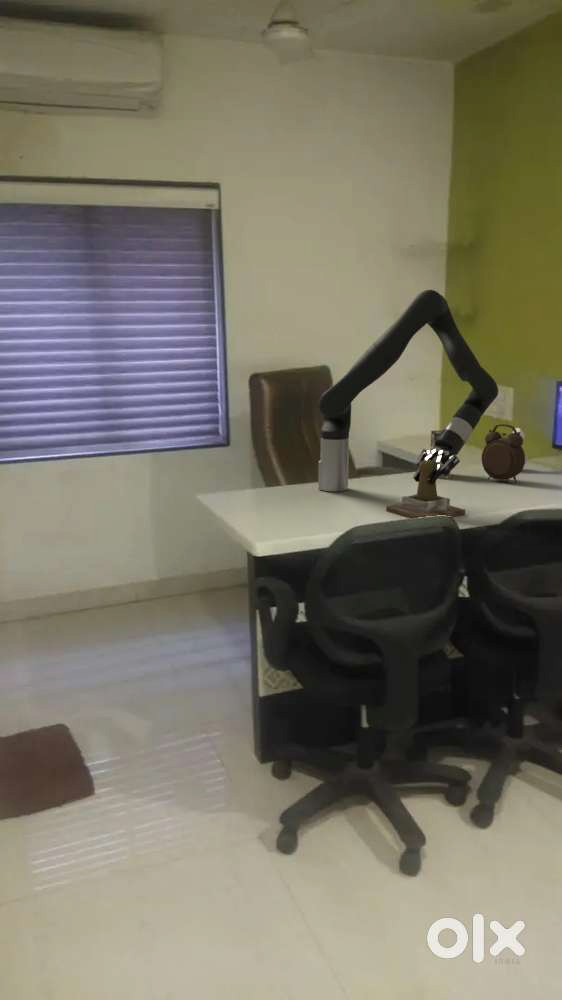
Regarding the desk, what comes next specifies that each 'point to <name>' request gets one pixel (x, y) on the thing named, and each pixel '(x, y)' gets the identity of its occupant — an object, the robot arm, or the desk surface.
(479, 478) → the desk surface
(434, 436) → the coffee box
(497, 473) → the alarm clock
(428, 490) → the cork
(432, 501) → the mount board
